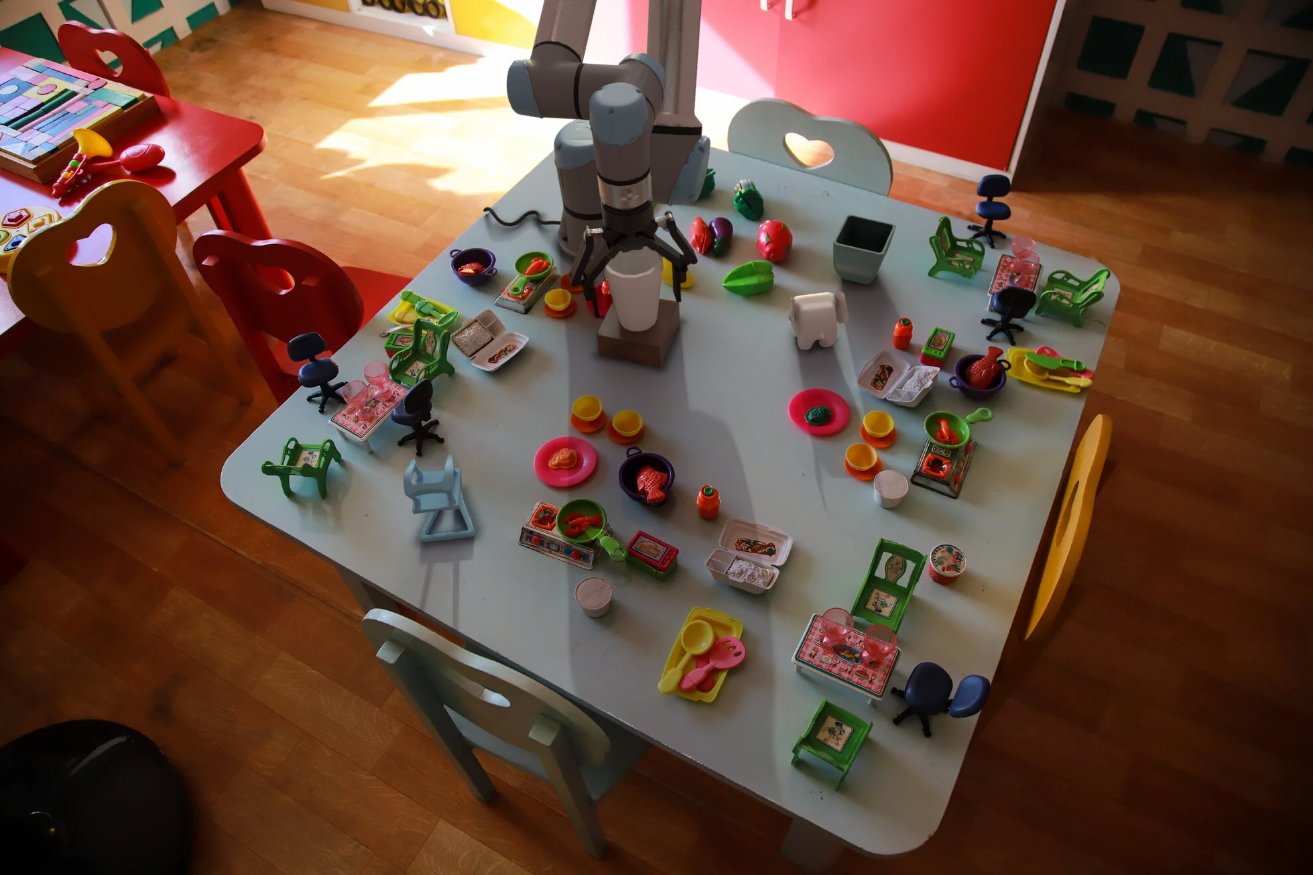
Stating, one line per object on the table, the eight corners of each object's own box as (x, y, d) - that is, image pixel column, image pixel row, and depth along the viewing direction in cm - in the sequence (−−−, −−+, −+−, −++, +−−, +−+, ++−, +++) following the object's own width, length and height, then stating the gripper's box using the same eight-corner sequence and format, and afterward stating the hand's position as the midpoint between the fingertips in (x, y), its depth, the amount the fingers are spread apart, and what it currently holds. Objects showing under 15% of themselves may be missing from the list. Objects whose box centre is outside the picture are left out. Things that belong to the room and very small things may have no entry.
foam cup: (668, 299, 139) (665, 238, 129) (663, 338, 134) (660, 278, 123) (613, 297, 140) (605, 237, 130) (606, 336, 135) (597, 276, 124)
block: (599, 355, 139) (596, 334, 135) (620, 311, 145) (617, 290, 141) (661, 367, 137) (659, 347, 133) (679, 322, 143) (679, 301, 139)
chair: (476, 489, 123) (456, 441, 114) (474, 536, 118) (454, 490, 109) (425, 495, 123) (401, 447, 114) (421, 543, 118) (395, 497, 109)
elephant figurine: (830, 306, 143) (836, 267, 136) (848, 355, 136) (856, 317, 129) (776, 312, 143) (780, 273, 136) (791, 363, 136) (796, 324, 129)
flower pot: (841, 252, 152) (847, 212, 144) (888, 264, 149) (897, 224, 142) (826, 282, 147) (832, 243, 140) (874, 295, 144) (883, 255, 137)
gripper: (544, 227, 114) (565, 335, 131) (717, 196, 117) (716, 305, 133) (537, 195, 119) (558, 303, 136) (704, 166, 121) (704, 275, 138)
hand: (636, 304), depth 135 cm, fingers open, 13 cm apart
